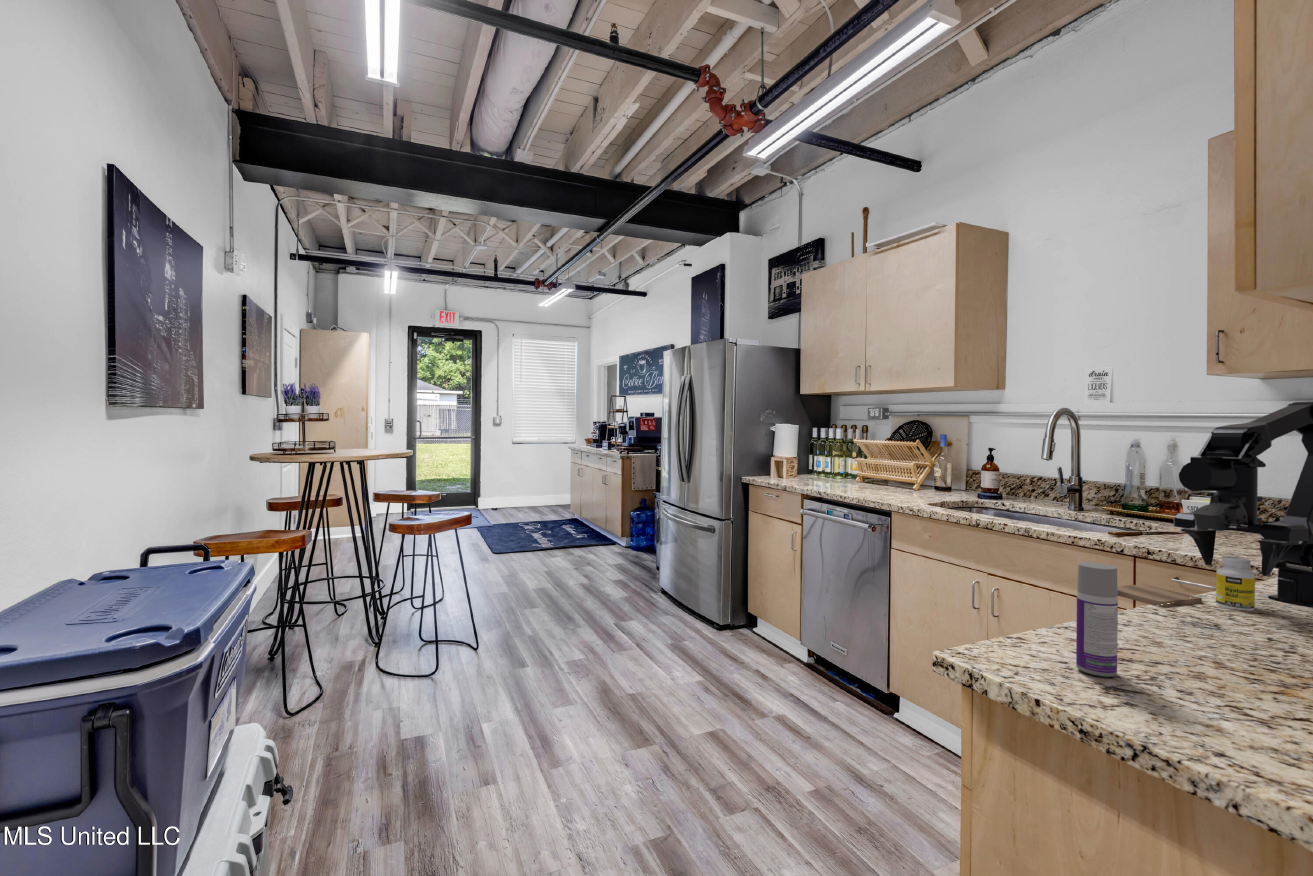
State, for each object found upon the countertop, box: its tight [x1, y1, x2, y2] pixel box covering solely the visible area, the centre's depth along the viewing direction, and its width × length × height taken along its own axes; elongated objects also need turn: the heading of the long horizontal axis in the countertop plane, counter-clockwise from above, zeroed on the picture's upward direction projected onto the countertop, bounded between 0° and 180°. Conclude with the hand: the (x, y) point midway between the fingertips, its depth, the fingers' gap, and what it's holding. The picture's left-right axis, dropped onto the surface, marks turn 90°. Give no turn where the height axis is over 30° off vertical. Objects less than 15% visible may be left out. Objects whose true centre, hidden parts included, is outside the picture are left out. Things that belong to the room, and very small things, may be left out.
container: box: [1075, 561, 1119, 678], centre depth 83 cm, size 5×5×15 cm
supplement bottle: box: [1215, 555, 1256, 612], centre depth 114 cm, size 5×5×10 cm
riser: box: [1117, 583, 1203, 608], centre depth 121 cm, size 11×11×2 cm
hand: (1235, 570), depth 114 cm, fingers open, 9 cm apart
